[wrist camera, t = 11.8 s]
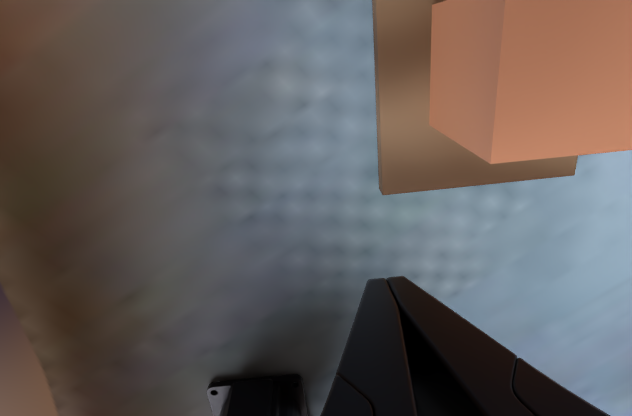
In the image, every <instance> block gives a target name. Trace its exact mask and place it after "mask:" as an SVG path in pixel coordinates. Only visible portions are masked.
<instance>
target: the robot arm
mask: <svg viewBox="0 0 632 416" xmlns="http://www.w3.org/2000/svg"><path fill="white" fill-rule="evenodd" d="M294 382H297V383H294ZM207 396H208V399H209V402H210V406H211V409H212V412H213V416H308V412H307V405H306V399H305V392H304V386H303V379H302V377H301V376H299V375H285V376H275V377H265V378H254V379H244V380H234V381H224V382H214V383H211V384H209V386H208V389H207ZM320 416H610V415H608V414H607V413H605V412H603V411H602V410H600V409H598V408H597V407H595V406H593V405H592V404H590V403H588V402H587V401H585V400H584V399H582V398H580V397H579V396H577V395H575V394H574V393H572V392H571V391H569V390H567V389H566V388H564V387H563V386H561V385H560V384H558V383H557V382H555V381H554V380H552V379H551V378H549V377H548V376H546V375H545V374H543V373H542V372H540V371H539V370H537V369H536V368H534V367H533V366H531V365H530V364H529V363H527V362H526V361H524V360H523V359H521V358H517V355H515V354H514V353H513V352H511V351H510V350H508V349H507V348H505V347H504V346H503V345H501V344H500V343H498V342H497V341H495V340H494V339H493V338H491V337H490V336H488V335H487V334H485V333H484V332H483V331H481V330H480V329H478V328H477V327H475V326H474V325H473V324H471V323H470V322H468V321H467V320H465V319H464V318H463V317H461V316H460V315H458V314H457V313H455V312H454V311H453V310H451V309H450V308H448V307H447V306H445V305H444V304H443V303H441V302H440V301H438V300H437V299H435V298H434V297H433V296H431V295H430V294H428V293H427V292H425V291H424V290H423V289H421V288H420V287H418V286H417V285H415V284H414V283H413V282H411V281H410V280H408V279H407V278H406V277H404V276H398V277H389V278H387V279H384V278H378V279H370V280H368V281H367V284H366V287H365V290H364V293H363V296H362V299H361V302H360V305H359V308H358V311H357V313H356V316H355V319H354V322H353V325H352V328H351V331H350V334H349V337H348V340H347V343H346V346H345V349H344V352H343V355H342V358H341V361H340V364H339V367H338V370H337V373H336V376H335V378H334V381H333V384H332V387H331V390H330V392H329V395H328V398H327V400H326V403H325V405H324V408H323V411H322V413H321V415H320Z"/></svg>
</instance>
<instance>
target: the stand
mask: <svg viewBox="0 0 632 416" xmlns="http://www.w3.org/2000/svg"><path fill="white" fill-rule="evenodd" d="M443 1H446V0H372V5H373V32H374V60H375V87H376V115H377V142H378V169H379V189H380V191H381V193H382V195H389V194H399V193H408V192H418V191H428V190H437V189H447V188H456V187H466V186H476V185H485V184H495V183H505V182H514V181H524V180H533V179H543V178H553V177H562V176H572V175H575V169H576V163H577V158H578V155H576V156H566V157H556V158H546V159H536V160H526V161H516V162H506V163H496V164H490V163H488V162H486V161H485V160H483V159H482V158H480V157H479V156H477V155H475V154H474V153H472V152H471V151H469V150H468V149H466V148H464V147H463V146H461V145H460V144H458V143H457V142H455V141H453V140H452V139H450V138H449V137H447V136H446V135H444V134H442V133H441V132H439V131H438V130H436V129H435V128H433V127H431V126H430V125H429V113H430V69H431V26H432V5H433V4H436V3H440V2H443Z"/></svg>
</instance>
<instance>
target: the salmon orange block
mask: <svg viewBox="0 0 632 416" xmlns="http://www.w3.org/2000/svg"><path fill="white" fill-rule="evenodd" d="M429 125H430V126H431V127H433V128H435V129H436V130H438V131H439V132H441V133H442V134H444V135H446V136H447V137H449V138H450V139H452V140H453V141H455V142H457V143H458V144H460V145H461V146H463V147H464V148H466V149H468V150H469V151H471V152H472V153H474V154H475V155H477V156H479V157H480V158H482V159H483V160H485V161H486V162H488V163H490V164H496V163H506V162H516V161H526V160H536V159H546V158H556V157H566V156H576V155H586V154H596V153H606V152H616V151H626V150H632V0H446V1H443V2H440V3H436V4H433V5H432V26H431V69H430V113H429Z"/></svg>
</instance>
